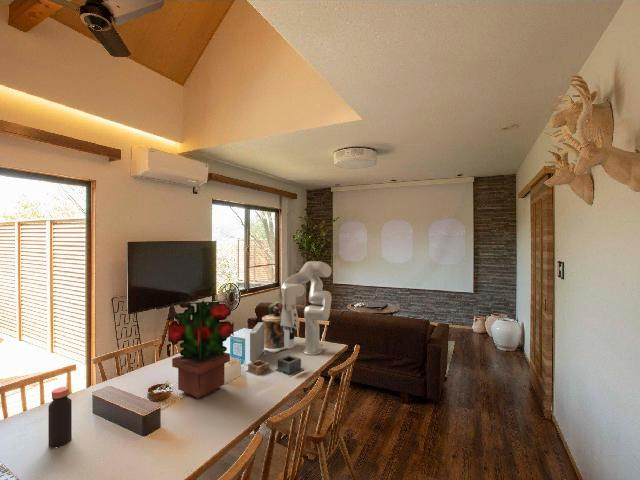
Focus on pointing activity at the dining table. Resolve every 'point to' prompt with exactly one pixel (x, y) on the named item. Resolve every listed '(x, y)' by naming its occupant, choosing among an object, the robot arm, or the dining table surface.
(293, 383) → the dining table surface
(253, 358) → the network device
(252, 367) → the brown square ashtray
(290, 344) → the plug
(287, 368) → the port block
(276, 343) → the cookie jar
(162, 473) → the dining table surface
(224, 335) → the potted plant
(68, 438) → the bottle
